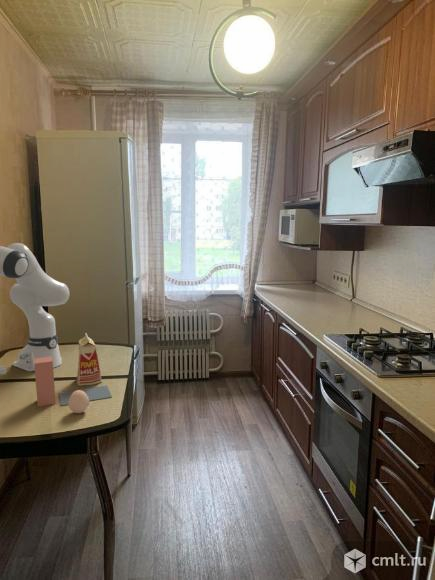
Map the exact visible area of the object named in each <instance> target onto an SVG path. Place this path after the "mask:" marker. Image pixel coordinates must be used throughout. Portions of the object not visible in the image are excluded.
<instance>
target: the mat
mask: <svg viewBox="0 0 435 580" xmlns="http://www.w3.org/2000/svg"><path fill="white" fill-rule="evenodd" d="M77 390H78V389H75V390H68V391H63V392H62V391H61V392H59V393H58V395H59V396H58V397H59V402H60V403H59V404H60V407H62V406H69V398H70V396H71V395H72V393H73V392H75V391H77ZM80 390H81V391H83V392H85V393H86V394H87V396H88V399H89V402H93V401H98V400H104V399H110V398H112V397H113V396H112V394H111V391H110V389H109V387H108V385H101V386H94V387H88V388H82V389H80Z"/></svg>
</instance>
